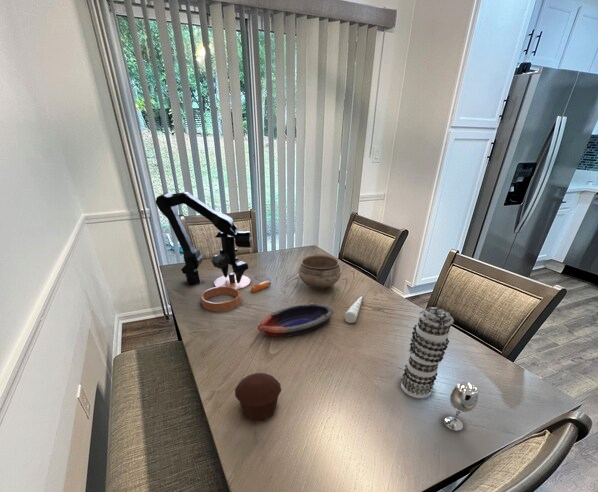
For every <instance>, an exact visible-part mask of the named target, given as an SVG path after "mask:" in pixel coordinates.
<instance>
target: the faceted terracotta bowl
mask: <svg viewBox="0 0 598 492" xmlns="http://www.w3.org/2000/svg"><path fill="white" fill-rule="evenodd" d="M219 295H229V296H232V297H233V296H234V298H233V299H231V300H227V301H223V302H222V301H221V302H215V301H209V300H208V299H209V298H211V297H215V296H219ZM241 301H242V295H241V292H240V289H239V290H238V289H236V288H233V287H227V286H220V287H215V286H214V287H210V288H208V289H205V290H204V291H203V292H201V295H200V302H201V306H202V307H203V309H206V311H207V310H208V311H212V312H224V311H225V312H226V311H229V310H232V309H235V308H236V307H238V306H239V305H240V304H241V303H242V302H241Z"/></svg>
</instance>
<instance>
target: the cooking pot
mask: <svg viewBox="0 0 598 492" xmlns="http://www.w3.org/2000/svg"><path fill="white" fill-rule="evenodd" d="M340 264H341V261H340V259H339V258H338V257H335V256H333V255H330V254H322V253H321V254H320V253H315V254H309V255H305V256H303V257H301V259H300V265H299V268H298V277H299V279H300V280H301V282H303V283H304V284H305V285H306V286H308V287H310V288H313V289H315V290H324V289H327V288H329V287H332V286H334V285H335V284H337V282H338V281H339V280H340V278H341V276H342V275H341V267H340Z"/></svg>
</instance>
